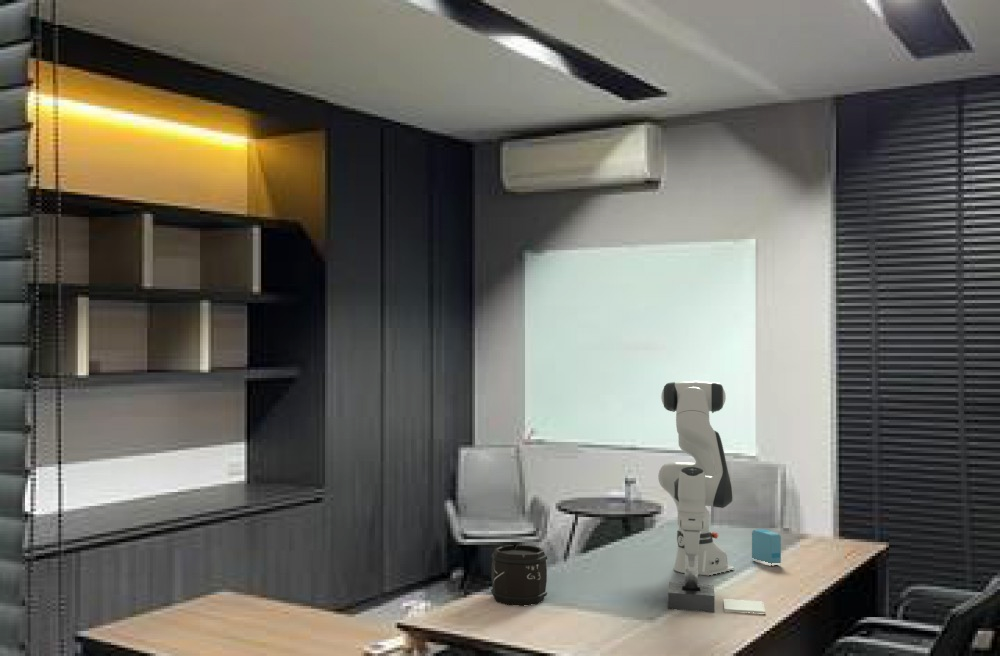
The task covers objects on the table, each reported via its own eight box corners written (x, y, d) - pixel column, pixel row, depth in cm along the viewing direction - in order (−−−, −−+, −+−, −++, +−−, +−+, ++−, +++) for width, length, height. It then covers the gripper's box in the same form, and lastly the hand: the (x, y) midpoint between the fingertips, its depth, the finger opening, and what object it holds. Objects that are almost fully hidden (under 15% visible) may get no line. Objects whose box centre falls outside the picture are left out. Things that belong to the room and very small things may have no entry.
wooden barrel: (504, 589, 307) (505, 541, 308) (554, 596, 299) (555, 547, 300) (479, 602, 291) (480, 551, 292) (531, 609, 283) (532, 557, 284)
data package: (781, 566, 347) (781, 534, 347) (770, 567, 345) (771, 534, 346) (761, 559, 358) (761, 528, 358) (751, 560, 356) (751, 529, 357)
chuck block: (669, 597, 300) (669, 581, 300) (713, 600, 297) (713, 584, 297) (667, 609, 286) (667, 592, 286) (714, 612, 283) (714, 595, 283)
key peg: (692, 584, 294) (692, 552, 295) (700, 587, 291) (700, 555, 291) (682, 586, 293) (682, 554, 293) (690, 589, 289) (690, 556, 289)
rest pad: (723, 601, 295) (723, 598, 295) (762, 604, 293) (762, 601, 293) (724, 612, 283) (724, 608, 283) (765, 614, 281) (765, 611, 281)
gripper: (682, 513, 303) (681, 556, 303) (681, 525, 283) (680, 571, 283) (701, 514, 302) (701, 557, 301) (702, 526, 282) (702, 572, 281)
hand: (691, 564), depth 292 cm, fingers closed on key peg, 4 cm apart
